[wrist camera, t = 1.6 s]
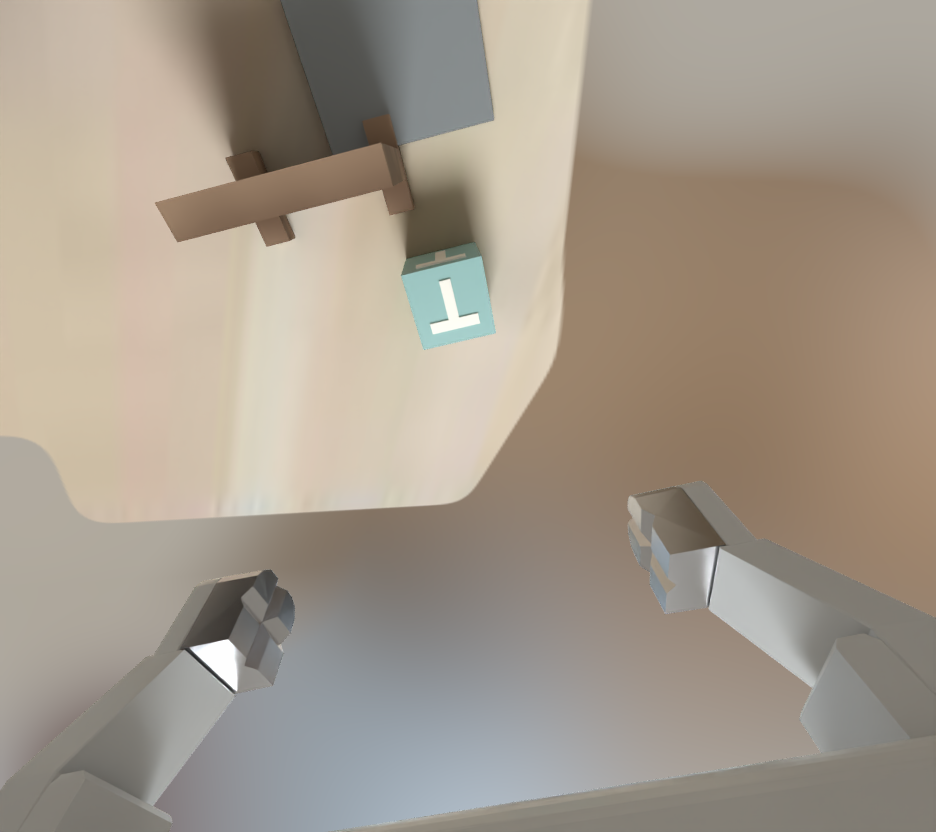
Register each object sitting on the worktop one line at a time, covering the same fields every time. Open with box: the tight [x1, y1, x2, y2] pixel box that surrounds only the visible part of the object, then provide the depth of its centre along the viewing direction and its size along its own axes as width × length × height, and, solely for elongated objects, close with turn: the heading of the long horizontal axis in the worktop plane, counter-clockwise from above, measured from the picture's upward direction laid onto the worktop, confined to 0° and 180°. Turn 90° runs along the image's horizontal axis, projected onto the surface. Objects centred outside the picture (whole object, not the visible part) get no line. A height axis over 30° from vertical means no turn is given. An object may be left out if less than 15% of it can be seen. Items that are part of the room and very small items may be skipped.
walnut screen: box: [155, 114, 415, 246], centre depth 21 cm, size 5×10×10 cm, turn 102°
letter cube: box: [401, 242, 496, 350], centre depth 27 cm, size 5×5×5 cm
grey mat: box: [280, 0, 494, 155], centre depth 22 cm, size 10×10×1 cm
